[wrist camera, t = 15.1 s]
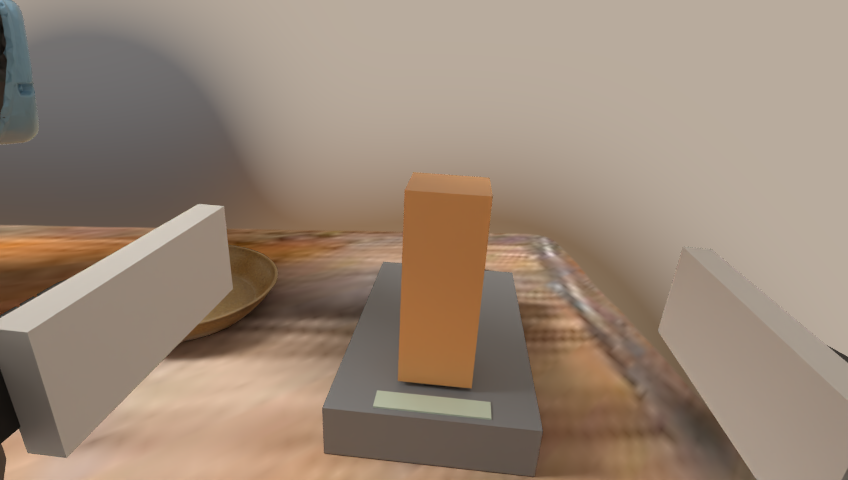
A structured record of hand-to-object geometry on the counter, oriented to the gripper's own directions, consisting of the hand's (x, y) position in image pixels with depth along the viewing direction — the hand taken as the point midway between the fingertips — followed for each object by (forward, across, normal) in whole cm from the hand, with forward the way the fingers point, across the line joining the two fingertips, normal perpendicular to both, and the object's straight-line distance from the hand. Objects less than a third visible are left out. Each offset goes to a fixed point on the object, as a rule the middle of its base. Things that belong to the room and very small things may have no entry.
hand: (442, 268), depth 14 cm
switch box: (+18, 0, -14) cm, 23 cm away
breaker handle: (+10, 0, -11) cm, 15 cm away
